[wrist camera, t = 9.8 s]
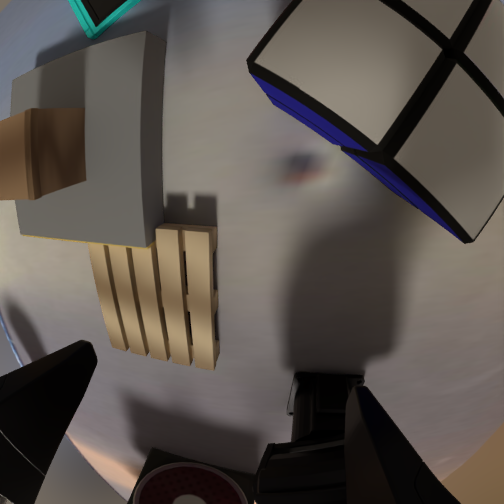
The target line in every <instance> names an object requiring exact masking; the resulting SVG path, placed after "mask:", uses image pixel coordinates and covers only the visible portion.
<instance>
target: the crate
mask: <svg viewBox="0 0 504 504" xmlns="http://www.w3.org/2000/svg"><path fill="white" fill-rule="evenodd" d="M84 181H87V179H86V162H85V108H46V109H38V108H30V109H27V110H25V111H24V112H22V113H19V114H16V115H14V116H11V117H9V118H7V119H4V120H2V121H0V200H24V199H29V200H36V199H39V198H42V196H44V195H47V194H49V193H52V192H55V191H58V190H61V189H63V188H66V187H69V186H72V185H75V184H78V183H81V182H84Z"/></svg>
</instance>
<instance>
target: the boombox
mask: <svg viewBox="0 0 504 504" xmlns="http://www.w3.org/2000/svg"><path fill="white" fill-rule="evenodd" d="M254 477H255V474H251V473H245V472H240V471H235V470H230V469H225V468H221V467H217V466H213V465H209V464H205V463H201V462H197V461H194V460H190V459H187V458H183V457H180V456H177V455H173V454H170V453H167V452H164V451H161V450H159V449H156V448H153V447H152V448H151V451H150V453H149V455H148V457H147V460H146V462H145V464H144V466H143V469H142V471H141V473H140V476H139V478H138V480H137V482H136V485H135V487H134V489H133V491H132V494H131V496H130V498H129V501H128V503H127V504H254V501H255V499H254V494H253V490H252V487H253V485H252V482H253V479H254Z"/></svg>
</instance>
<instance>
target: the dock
mask: <svg viewBox="0 0 504 504" xmlns="http://www.w3.org/2000/svg"><path fill="white" fill-rule="evenodd" d="M165 52H166V42H165V41H163V40H162V39H160V38H158V37H157V36H155V35H153V34H151V33H150V32H148V31H142V32H138V33H134V34H130V35H126V36H122V37H118V38H115V39H111V40H108V41H105V42H102V43H98V44H95V45H92V46H89V47H86V48H84V49H81V50H78V51H75V52H73V53H70V54H68V55H65V56H63V57H60V58H58V59H55V60H53V61H51V62H48V63H46V64H44V65H42V66H40V67H37V68H35V69H33V70H31V71H29V72H27V73H25V74H23V75H21V76H19V77H18V78H16V79H14V80H13V82H12V93H11V112H10V117H11V116H14V115H16V114H19V113H22V112H24V111H25V110H27V109H30V108H38V109H46V108H85V162H86V179H87V181H84V182H81V183H78V184H75V185H72V186H69V187H66V188H63V189H61V190H58V191H55V192H52V193H49V194H47V195H44V196H42V198H39V199H36V200H29V199H24V200H15V204H16V210H17V217H18V223H19V228H20V233H21V235H23V236H29V237H38V238H46V239H55V240H64V241H73V242H82V243H91V244H100V245H109V246H119V247H128V248H137V249H147V250H148V249H149V248H150V247H151V246H153V245H154V241H155V240H156V228H157V227H158V226H160V225H162V224H163V223H164V212H163V188H162V104H163V81H164V65H165Z"/></svg>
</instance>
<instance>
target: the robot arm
mask: <svg viewBox="0 0 504 504" xmlns="http://www.w3.org/2000/svg"><path fill="white" fill-rule="evenodd" d="M96 365H97V356H96V353H95V351H94V348H93V345H92V343H91V342H88V341H85V340H79V341H77V342H75V343H73V344H71V345H69V346H67V347H64V348H62V349H60V350H58V351H56V352H54V353H51V354H49V355H47V356H45V357H43V358H41V359H38V360H36V361H34V362H32V363H30V364H27V365H25V366H23V367H21V368H19V369H17V370H14V371H12V372H10V373H8V374H6V375H3V376H1V377H0V504H6V502H7V500H9V501H10V502H12V503H13V504H34V503H35V500H36V498H37V495H38V493H39V491H40V488H41V486H42V483H43V481H44V478H45V475H46V474H47V471H48V469H49V466H50V464H51V462H52V460H53V458H54V455H55V453H56V451H57V449H58V447H59V445H60V443H61V441H62V438H63V436H64V434H65V432H66V430H67V428H68V426H69V424H70V422H71V420H72V418H73V416H74V414H75V412H76V410H77V408H78V406H79V405H80V403H81V401H82V399H83V397H84V394H85V392H86V390H87V387H88V385H89V382H90V380H91V377H92V375H93V373H94V370H95V368H96ZM298 377H301V378H298ZM358 380H360V381H358ZM364 382H365V380H364V376H362V375H336V374H318V373H304V372H298V373H296V374H295V375H294V379H293V384H292V389H291V394H290V398H289V403H288V408H287V415H288V416H293V424H292V437H291V442H288V443H279V444H275V443H270V444H268V445H267V448H266V450H265V452H264V455H263V457H262V460H261V462H260V465H259V467H258V470H257V472H256V474H255V477H254V479H253V482H252V485H253V487H252V490H253V494H254V499H255V502H256V504H461V503H460V502H459V501H458V500H457V499H456V498H455V497H454V496H453V495H452V494H451V493H450V492H449V491H448V490H447V489H446V488H445V487H444V486H443V485H442V484H441V482H440V481H439V480H438V479H437V478H436V477H435V475H434V474H433V473H432V472H431V470H430V469H429V468H428V466H427V465H426V464H425V462H422V461H423V460H422V459H421V457H420V456H419V455H418V453H417V452H416V451H415V449H414V448H413V447H412V445H411V444H410V443H409V441H408V440H407V439H406V437H405V436H404V435H403V433H402V432H401V431H400V429H399V428H398V427H397V425H396V424H395V423H394V421H393V420H392V419H391V418H390V416H389V415H388V414H387V412H386V411H385V410H384V408H383V407H382V406H381V404H380V403H379V402H378V400H377V399H376V398H375V397H374V395H373V394H372V393H371V391H370V390H369V389H368V387H366V386H363V384H364Z"/></svg>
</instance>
